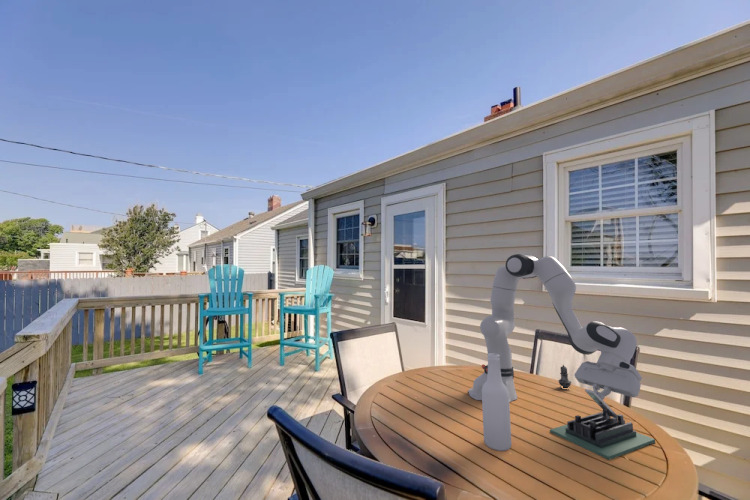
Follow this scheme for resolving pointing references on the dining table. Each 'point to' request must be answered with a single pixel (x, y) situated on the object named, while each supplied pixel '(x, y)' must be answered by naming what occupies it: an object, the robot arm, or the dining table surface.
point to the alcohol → (496, 408)
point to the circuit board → (607, 451)
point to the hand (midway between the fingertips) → (597, 397)
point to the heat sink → (600, 429)
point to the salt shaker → (564, 378)
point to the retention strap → (601, 403)
